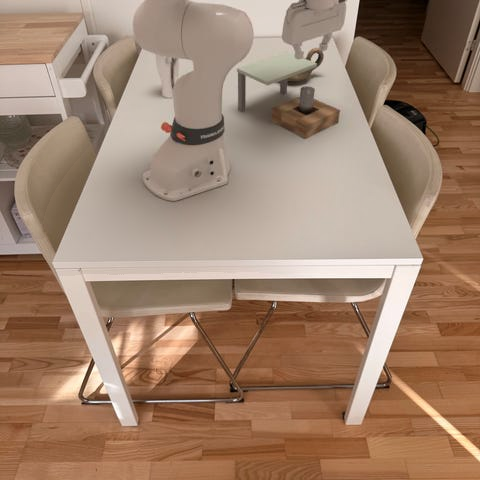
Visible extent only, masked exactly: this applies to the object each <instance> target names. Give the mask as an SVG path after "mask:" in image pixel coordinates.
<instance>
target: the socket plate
mask: <svg viewBox="0 0 480 480" xmlns="http://www.w3.org/2000/svg"><path fill="white" fill-rule="evenodd" d="M299 100H300V96H298V97H295V98H292V99H291V100H288V101H285V102H283V103H281V104H278V105H276V106H274V107H272V108H271V115H270V117H271V118H270V121H271V122H273V123H275V124H276V125H278V126H280V127H282V128H285V129H286V130H288V131H290V132H292V133H294V134H296V135H298V136H299V137H301V138H304V139H308V138H309V137H312V136H315V135H317V134H319V133H320V132H322V131H324V130H326V129H329V128H330V127H333V126H335V125H337V124H339V120H340V119H339V118H340V112H341V110H340V109H338V108H336V107H335V106H331V105H329V104H327V103H325V102H323V101H320V100H318V99H315V98H314V101H313V109H312V113H311V114H309V115H304V114H302V113H300V112H298V111H299Z"/></svg>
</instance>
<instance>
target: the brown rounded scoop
mask: <svg viewBox="0 0 480 480" xmlns="http://www.w3.org/2000/svg"><path fill="white" fill-rule="evenodd" d="M315 54H318V56H317V59H316V61H314V63H317V67H315V68H312V69H310V70H307V71H304V72H302V73H299V74H297V75H294V76H291V77H289V78H288V81H287V82H301V81H304V80H306V79H308V78H309V77H310V76H311V73H312V72H313V71H315V70H316V69H318V68H319V66H321V64H322V63H323V61H324V57H325V56H324V51H320V50H319V47H314V48H312V49H310V50H309V51H308V52H307V55H306V57H303V58H304V59H306V60H309V61H312V57H313V56H314V55H315Z"/></svg>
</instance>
